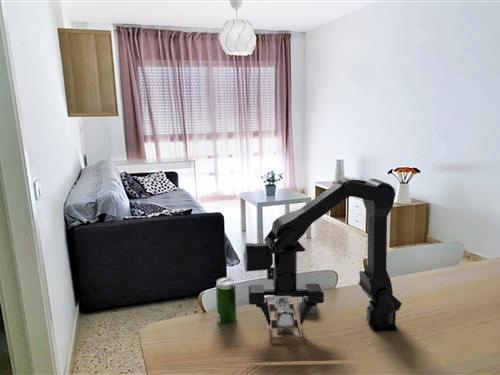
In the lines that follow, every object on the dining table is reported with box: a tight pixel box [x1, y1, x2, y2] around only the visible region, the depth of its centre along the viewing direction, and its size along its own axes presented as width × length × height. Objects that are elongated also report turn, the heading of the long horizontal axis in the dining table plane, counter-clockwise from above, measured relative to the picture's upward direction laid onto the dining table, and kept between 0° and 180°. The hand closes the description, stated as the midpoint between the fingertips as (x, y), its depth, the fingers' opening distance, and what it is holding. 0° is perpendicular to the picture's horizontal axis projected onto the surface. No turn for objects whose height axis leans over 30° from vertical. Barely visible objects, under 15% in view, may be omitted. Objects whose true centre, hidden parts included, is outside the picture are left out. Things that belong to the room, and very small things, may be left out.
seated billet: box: [273, 297, 291, 317], centre depth 108 cm, size 4×4×6 cm
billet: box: [277, 307, 294, 335], centre depth 100 cm, size 4×4×6 cm
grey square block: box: [296, 297, 318, 315], centre depth 112 cm, size 5×5×4 cm
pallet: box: [266, 301, 306, 345], centre depth 105 cm, size 9×18×2 cm, turn 0°
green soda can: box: [215, 277, 238, 326], centre depth 106 cm, size 5×5×12 cm
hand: (285, 324), depth 100 cm, fingers open, 8 cm apart
